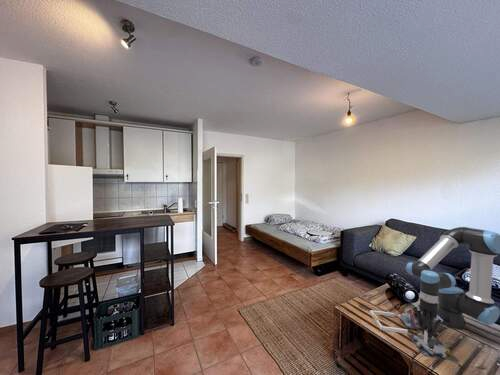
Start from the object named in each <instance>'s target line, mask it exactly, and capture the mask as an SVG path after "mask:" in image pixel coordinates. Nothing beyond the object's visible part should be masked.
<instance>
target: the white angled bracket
mask: <svg viewBox="0 0 500 375" xmlns="http://www.w3.org/2000/svg"><path fill="white" fill-rule="evenodd" d="M369 314H370V316H371V317H372V319H373V320H374V322H375V323H376V325H377V326H378V328H379V329H380V331H385V332H393V333H400V334H406V335H407V334H409V330H408V329H406V328H401V327H400V328H399V327H398V328H397V327H394V326H393V327H391V326H384V325H382V324H381V322H380V320H379V317H378V315H385V316H384V317H386V316H391V317H390V318H395V313H394V312H388V311H379V310H371V309H370V310H369Z"/></svg>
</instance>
